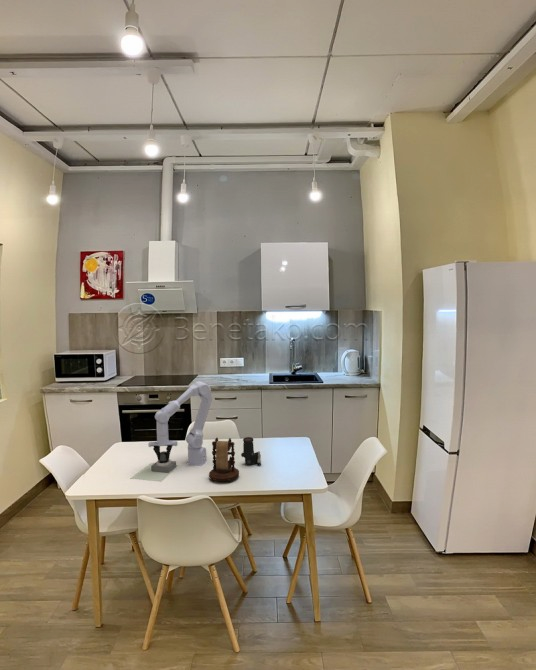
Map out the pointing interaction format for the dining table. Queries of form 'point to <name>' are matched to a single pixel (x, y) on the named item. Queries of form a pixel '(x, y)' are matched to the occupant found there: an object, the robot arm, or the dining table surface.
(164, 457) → the lens
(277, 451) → the dining table surface
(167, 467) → the camera body
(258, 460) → the scope
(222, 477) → the scroll
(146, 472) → the mat
